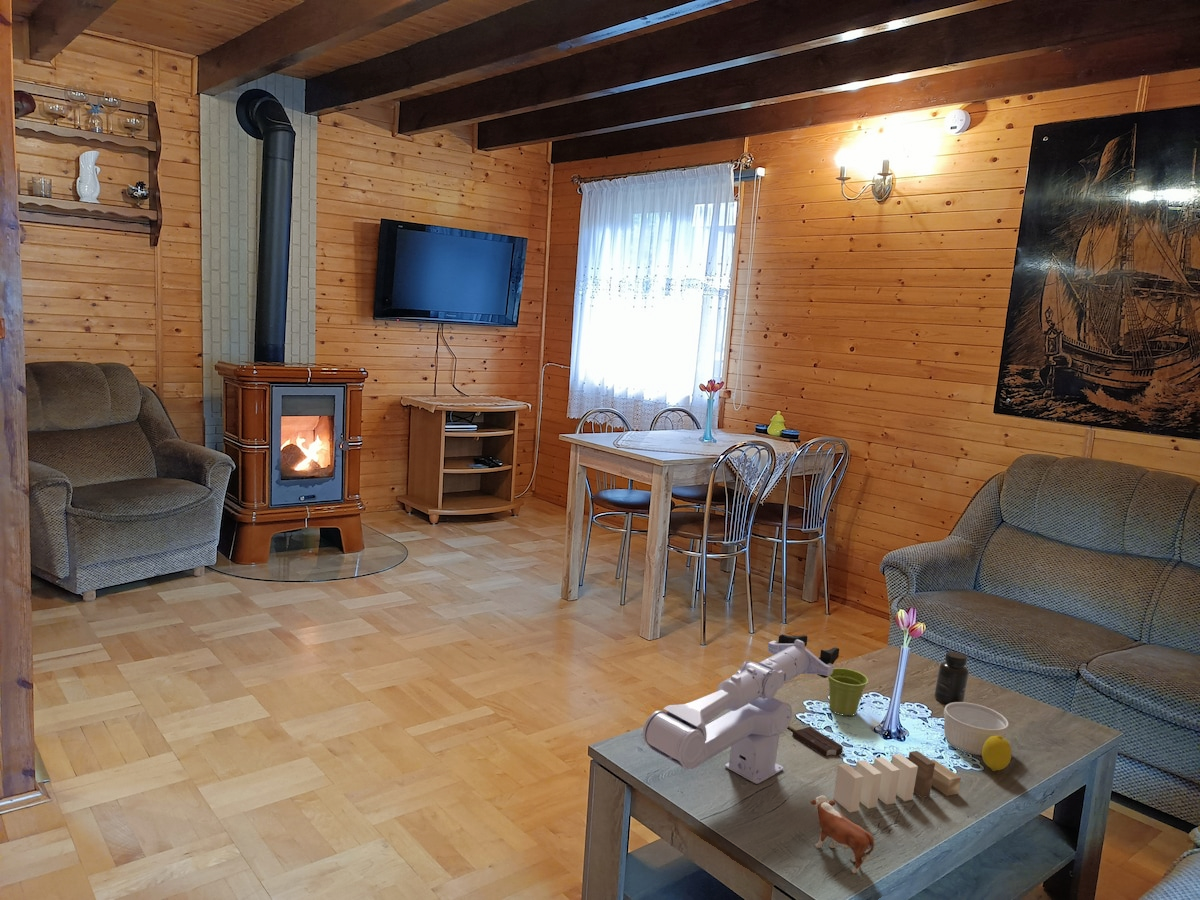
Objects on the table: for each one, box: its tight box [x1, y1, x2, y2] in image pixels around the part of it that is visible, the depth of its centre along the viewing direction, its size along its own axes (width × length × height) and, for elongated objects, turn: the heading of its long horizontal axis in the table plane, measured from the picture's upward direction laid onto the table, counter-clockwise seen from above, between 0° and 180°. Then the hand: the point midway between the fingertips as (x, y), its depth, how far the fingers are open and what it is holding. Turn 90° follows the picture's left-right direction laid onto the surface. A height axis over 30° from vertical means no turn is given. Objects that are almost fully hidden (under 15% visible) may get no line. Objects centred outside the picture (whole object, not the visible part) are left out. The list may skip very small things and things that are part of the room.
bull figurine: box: [810, 795, 875, 874], centre depth 148 cm, size 4×13×8 cm, turn 33°
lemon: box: [981, 735, 1012, 772], centre depth 182 cm, size 6×6×8 cm
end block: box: [930, 759, 962, 797], centre depth 174 cm, size 3×7×4 cm, turn 25°
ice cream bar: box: [787, 721, 844, 757], centre depth 189 cm, size 5×2×15 cm
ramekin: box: [943, 701, 1009, 757], centre depth 193 cm, size 13×13×7 cm
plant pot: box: [827, 667, 869, 716], centre depth 203 cm, size 9×9×9 cm
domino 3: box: [872, 756, 900, 806], centre depth 168 cm, size 2×5×7 cm, turn 25°
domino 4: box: [890, 753, 918, 802], centre depth 170 cm, size 2×5×7 cm, turn 25°
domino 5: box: [907, 750, 935, 798], centre depth 172 cm, size 2×5×7 cm, turn 25°
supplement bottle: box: [934, 650, 970, 705], centre depth 214 cm, size 7×7×12 cm
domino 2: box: [854, 759, 882, 810], centre depth 166 cm, size 2×5×7 cm, turn 25°
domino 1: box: [832, 763, 864, 813], centre depth 164 cm, size 2×5×7 cm, turn 25°
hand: (821, 646), depth 184 cm, fingers open, 7 cm apart
